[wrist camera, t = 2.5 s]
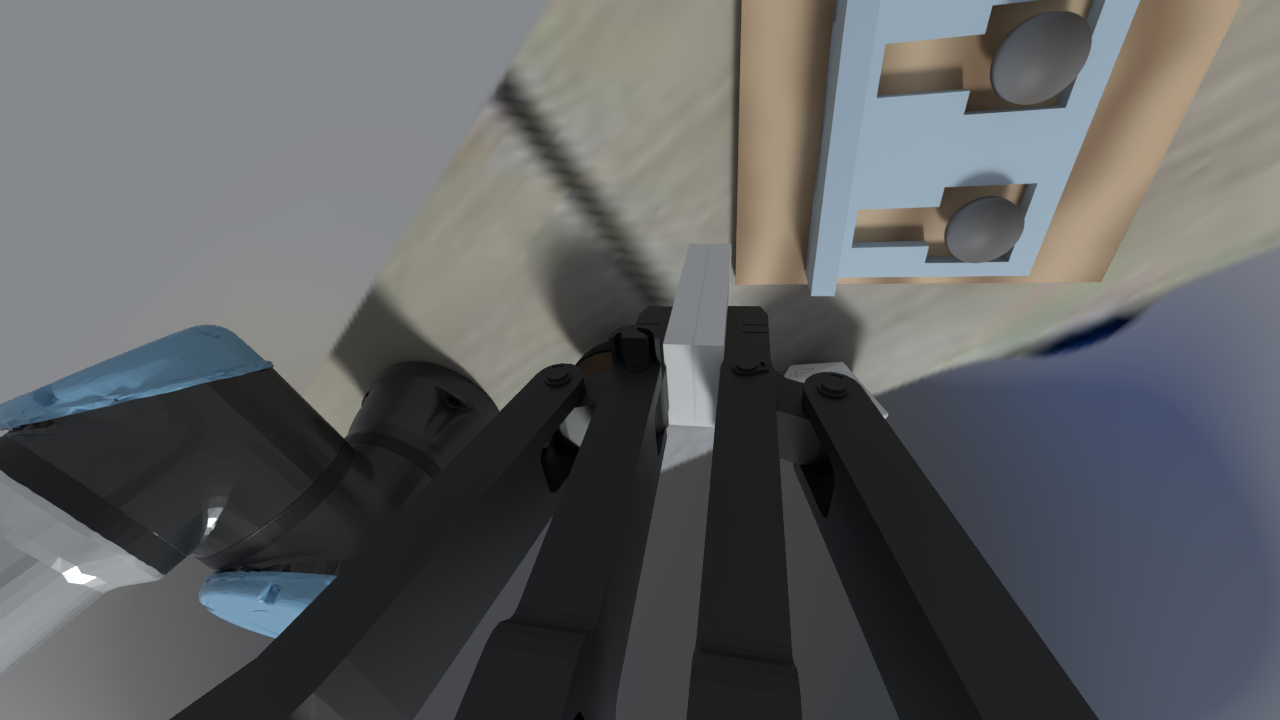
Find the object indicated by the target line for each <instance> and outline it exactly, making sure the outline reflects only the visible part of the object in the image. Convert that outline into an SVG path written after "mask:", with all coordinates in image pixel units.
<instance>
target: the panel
mask: <svg viewBox="0 0 1280 720" xmlns="http://www.w3.org/2000/svg"><path fill="white" fill-rule="evenodd" d="M1029 1H1038V0H835V9H834V18H833V26H832V35H831V44H830V53H829V62H828V71H827V80H826V89H825V98H824V107H823V116H822V125H821V134H820V143H819V152H818V160H817V169H816V178H815V187H814V196H813V205H812V214H811V223H810V232H809V241H808V250H807V259H806V268H805V274H806V278H807V282H808V286H809V290H810V294H811V296H835V291H836V284H837V278H857V277H955V276H1029V275H1030V272H1031V270H1032V267H1033V265H1034V262H1035V260H1036V257H1037V255H1038V252H1039V250H1040V247H1041V245H1042V242H1043V240H1044V237H1045V235H1046V233H1047V230H1048V228H1049V225H1050V223H1051V220H1052V218H1053V215H1054V213H1055V210H1056V208H1057V205H1058V203H1059V200H1060V198H1061V195H1062V193H1063V190H1064V188H1065V185H1066V183H1067V181H1068V178H1069V176H1070V173H1071V171H1072V168H1073V166H1074V163H1075V161H1076V158H1077V156H1078V153H1079V151H1080V148H1081V146H1082V143H1083V141H1084V138H1085V136H1086V133H1087V131H1088V129H1089V126H1090V124H1091V121H1092V119H1093V116H1094V114H1095V111H1096V109H1097V106H1098V104H1099V101H1100V99H1101V96H1102V94H1103V91H1104V89H1105V86H1106V84H1107V81H1108V79H1109V77H1110V74H1111V72H1112V69H1113V67H1114V64H1115V62H1116V59H1117V57H1118V54H1119V52H1120V49H1121V47H1122V44H1123V42H1124V39H1125V37H1126V34H1127V32H1128V29H1129V27H1130V25H1131V22H1132V20H1133V17H1134V15H1135V12H1136V10H1137V7H1138V5H1139V2H1140V0H1094V1H1093V4H1092V6H1091V9H1090V12H1089V15H1088V17H1087V20H1086V22H1087V23H1088V25H1089V27H1090V30H1091V34H1092V45H1091V50H1090V53H1089V56H1088V59H1087V61H1086V63H1085V65H1084V67H1083V68H1082V70H1081V71H1080V73H1079V74H1078V75H1077V77H1076V78H1075V79H1074V80H1073V81H1072V82H1071V83H1070V84H1069V85H1068V86H1067V87H1066V88H1065V89H1063V90H1062V91H1061V93H1060V95H1059V98H1058V101H1057V104H1056V105H1052V106H1038V107H1024V108H1010V109H996V110H982V111H968V112H965V108H966V104H967V101H968V97H969V93H970V91H969V90H966V89H954V90H942V91H929V92H917V93H904V94H892V95H879V96H877V92H878V86H879V80H880V74H881V68H882V62H883V56H884V50H885V44H890V43H900V42H910V41H920V40H930V39H940V38H950V37H960V36H970V35H980V34H985V32H986V29H987V25H988V21H989V17H990V13H991V10H992V6H993V5H1001V4H1010V3H1020V2H1029ZM1008 184H1027V187H1026V190H1025V193H1024V196H1023V198H1022V201H1021V204H1020V207H1019V208H1020V209H1021V211H1022V213H1023V215H1024V219H1025V224H1024V229H1023V232H1022V235H1021V237H1020V238H1019V240H1018V241H1017V243H1016V244H1015V245H1014V246H1013V247H1012V248H1011V249H1010V250H1009V251H1008V252H1006V253H1005V254H1003V255H1002V256H1000V257H998V258H996V259H994V260H991V261H987V262H983V263H967V262H964V261H961V260H959V259H958V258H956V257H926V256H927V252H928V248H929V246H928V244H927V243H926V242H925V241H888V242H853V236H854V230H855V224H856V218H857V212H858V210H866V209H894V208H921V207H940V203H941V199H942V195H943V192H944V188H945V187H963V186H986V185H1008Z"/></svg>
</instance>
